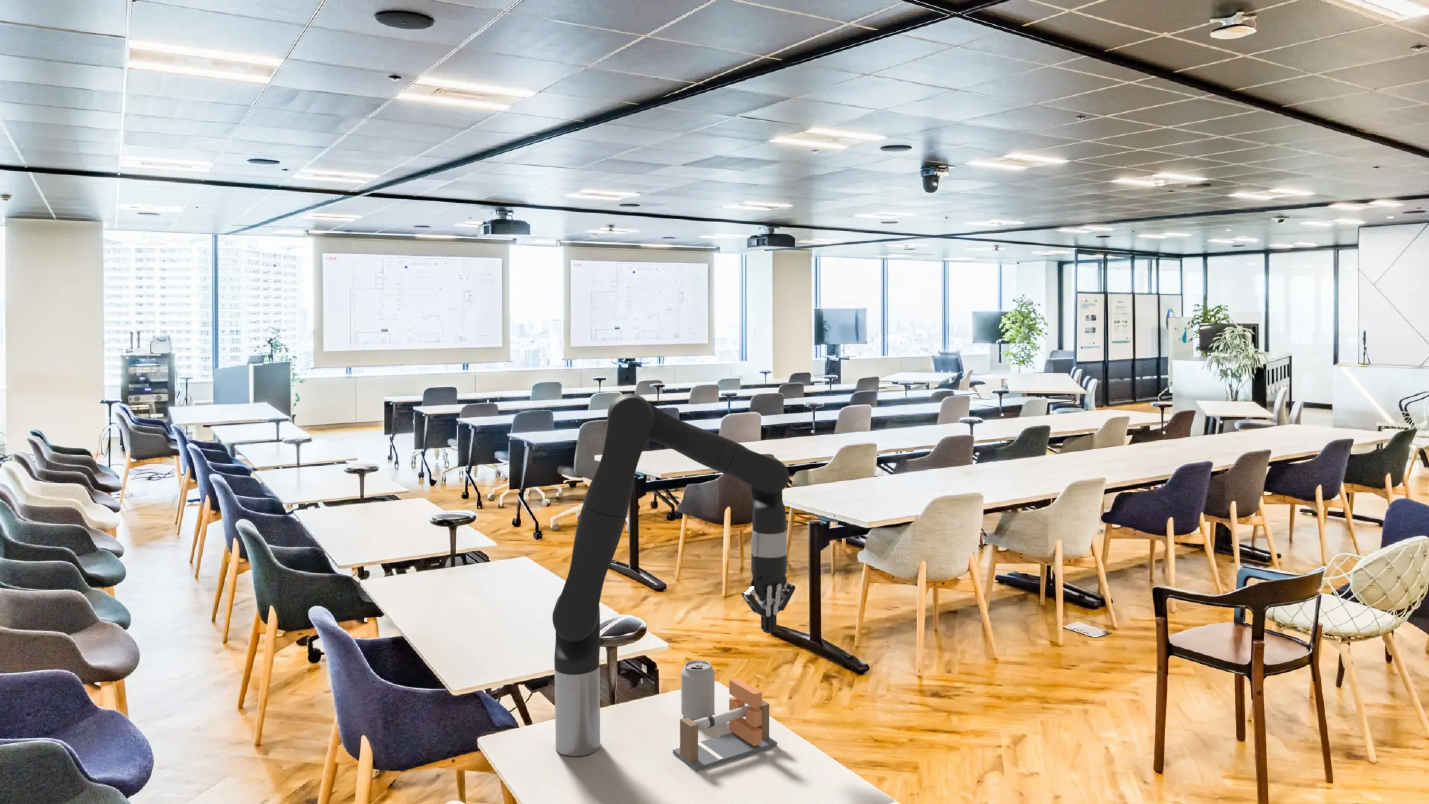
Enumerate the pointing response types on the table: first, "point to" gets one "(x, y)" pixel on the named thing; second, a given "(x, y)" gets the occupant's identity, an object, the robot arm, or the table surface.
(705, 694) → the can
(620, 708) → the table surface
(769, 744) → the pipe stand
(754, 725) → the collar
